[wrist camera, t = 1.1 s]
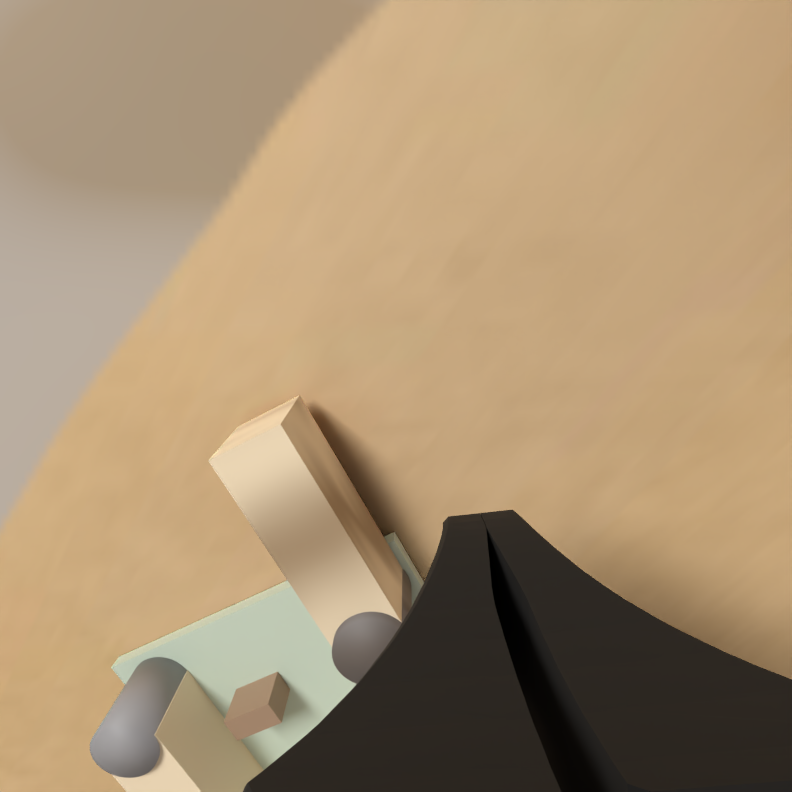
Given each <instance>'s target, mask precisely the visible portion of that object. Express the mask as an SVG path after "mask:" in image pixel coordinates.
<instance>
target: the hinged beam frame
mask: <svg viewBox="0 0 792 792" xmlns="http://www.w3.org/2000/svg"><path fill="white" fill-rule="evenodd" d="M384 538H385V540H386V542H387V543H388V545H389V547H390V548H391V550H392V552H393V553H394V555H395V557H396V559H397V560H398V562H399V564H400V565H401V567H402V569H403V570H404V571H405V572H406V573H407V575H408V576H409V579H410V581H411V588H412V605H413V603H414V601H415V599H416V597H417V595H418V593H419V591H420V589H421V588H422V586H423V584H424V581H423V580H422V578H421V576H420V575H419V573H418V571H417V569H416V568H415V566H414V564H413V563H412V561H411V559H410V557H409V556H408V554H407V552H406V551H405V549H404V547H403V545H402V544H401V542H400V540H399V539H398V537H397V535H396V534H395V532H393V533H391V534H389V535H386V536H384ZM111 668H112V669H113V670H114V672H115V673H116V674H117V675H118V677H119V678H120V679H121V680H122V682H123V683H124V684H125V686H124V688H123V689H122V691H121V693H120V694H119V696H118V697H117V699H116V701H115V702H114V704H113V705H112V707H111V709H110V710H109V712H108V713H107V715H106V717H105V718H104V720H103V721H102V723H101V725H100V726H99V728H98V729H97V731H96V733H95V734H94V736H93V738H92V740H91V742H90V752H91V755H92V758H93V759H94V761H95V762H96V764H97V765H98V766H99V767H101V768H102V769H103V770H105V771H106V772H108V773H110V774H112V775H113V776H114V778H115V779H116V780H117V781H118V782H119V783H120V785H121V786H122V787H123V788H124V789H125V790H126V792H243V790H244V788H245V786H246V784H247V783H248V782H249V781H250V780H252V779H253V778H254V777H256V776H257V775H258V774H259V773H261V772H262V771H263V770H264V769H266V768H267V767H268V766H269V765H271V764H272V763H273V762H274V761H275V760H277V759H278V758H279V757H280V756H281V755H283V754H284V753H285V752H286V751H287V750H289V749H290V748H291V747H292V746H294V745H295V744H296V743H297V742H298V741H300V740H301V739H302V738H303V737H304V736H306V735H307V734H308V733H309V732H310V731H311V730H312V729H313V728H314V727H316V726H317V725H318V724H319V723H320V722H321V721H322V720H323V719H324V718H325V717H326V716H327V715H328V714H329V713H330V712H331V711H332V709H333V708H334V707H335V706H336V705H337V704H338V703H339V702H340V701H341V700H342V699H343V698H344V697H345V696H346V695H347V694H348V693H349V692H350V691H351V690H352V689H353V688H354V686H355V685H356V683H354V682H351V681H350V680H348V679H346V678H345V677H344V676H343V675H342V674H341V673H340V672H339V671H338V670H337V668H336V667H335V665H334V662H333V659H332V647H331V645H330V644H329V642H328V641H327V639H326V638H325V636H324V635H323V633H322V632H321V630H320V629H319V627H318V626H317V624H316V623H315V621H314V620H313V618H312V617H311V615H310V614H309V612H308V611H307V609H306V608H305V606H304V605H303V603H302V602H301V600H300V599H299V597H298V595H297V594H296V592H295V591H294V589H293V588H292V586H291V585H290V583H289V582H288V580H287V581H285V582H283V583H281V584H278V585H276V586H274V587H272V588H270V589H267V590H265V591H263V592H261V593H258V594H256V595H254V596H252V597H250V598H247V599H245V600H243V601H241V602H239V603H236V604H234V605H232V606H230V607H228V608H225V609H223V610H221V611H219V612H217V613H214V614H212V615H210V616H208V617H206V618H203V619H201V620H199V621H197V622H194V623H192V624H190V625H188V626H186V627H183V628H181V629H179V630H177V631H175V632H172V633H170V634H168V635H166V636H164V637H161V638H159V639H157V640H155V641H153V642H150V643H148V644H146V645H144V646H141V647H139V648H137V649H135V650H133V651H130V652H128V653H126V654H124V655H122V656H119V657H118V659H117V660H116V662H115V663H114V665H113V666H112V667H111Z"/></svg>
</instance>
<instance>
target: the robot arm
mask: <svg viewBox="0 0 792 792" xmlns="http://www.w3.org/2000/svg"><path fill="white" fill-rule="evenodd" d="M243 792H792V680H791V679H789V678H786V677H784V676H781V675H779V674H776V673H774V672H771V671H768V670H766V669H763V668H761V667H758V666H756V665H753V664H751V663H749V662H746V661H744V660H742V659H739V658H737V657H735V656H732V655H730V654H728V653H725V652H723V651H721V650H719V649H717V648H715V647H713V646H711V645H709V644H707V643H704V642H702V641H700V640H698V639H696V638H694V637H692V636H690V635H688V634H686V633H684V632H682V631H680V630H678V629H676V628H674V627H672V626H670V625H668V624H666V623H664V622H663V621H661V620H659V619H657V618H655V617H654V616H652V615H650V614H649V613H647V612H645V611H644V610H642V609H640V608H638V607H637V606H635V605H633V604H632V603H630V602H628V601H626V600H625V599H623V598H622V597H620V596H619V595H617V594H615V593H614V592H612V591H611V590H609V589H608V588H606V587H605V586H604V585H602V584H601V583H599V582H598V581H597V580H595V579H594V578H592V577H591V576H590V575H588V574H587V573H585V572H584V571H583V570H581V569H580V568H579V567H577V566H576V565H575V564H574V563H573V562H571V561H570V560H569V559H568V558H566V557H565V556H564V555H563V554H562V553H560V552H559V551H558V550H557V549H556V548H554V547H553V546H552V545H551V544H550V543H549V542H547V541H546V540H545V539H544V538H543V537H542V536H541V535H540V534H539V533H537V532H536V531H535V530H534V529H533V528H532V527H531V526H530V525H529V524H528V523H527V522H526V521H525V520H524V519H523V518H521V517H520V516H519V515H518V514H517V513H516V512H515V511H513V510H506V511H497V512H488V513H481V514H480V513H478V514H469V515H460V516H451V517H448V518H447V519H446V520H445V521H444V522H443V531H442V536H441V540H440V543H439V546H438V549H437V553H436V555H435V558H434V560H433V563H432V565H431V568H430V570H429V573H428V575H427V577H426V580H425V582H424V584H423V586H422V588H421V589H420V591H419V593H418V595H417V597H416V599H415V601H414V603H413V605H412V607H411V609H410V611H409V612H408V614H407V616H406V617H405V619H404V621H403V622H402V624H401V625H400V627H399V629H398V630H397V632H396V633H395V635H394V636H393V638H392V639H391V640H390V642H389V643H388V645H387V646H386V648H385V649H384V650H383V652H382V653H381V654H380V655H379V657H378V658H377V659H376V661H375V662H374V663H373V665H372V666H371V667H370V668H369V670H368V671H367V672H366V674H365V675H364V676H363V677H362V678H361V679H360V681H359V682H358V683H357V684H356V685H355V686H354V688H353V689H352V690H351V691H350V692H349V693H348V694H347V695H346V696H345V697H344V698H343V699H342V700H341V701H340V702H339V703H338V704H337V705H336V706H335V707H334V708H333V709H332V711H331V712H330V713H329V714H328V715H327V716H326V717H325V718H324V719H323V720H322V721H321V722H320V723H319V724H318V725H317V726H316V727H314V728H313V729H312V730H311V731H310V732H309V733H308V734H307V735H306V736H304V737H303V738H302V739H301V740H300V741H298V742H297V743H296V744H295V745H294V746H292V747H291V748H290V749H289V750H287V751H286V752H285V753H284V754H283V755H281V756H280V757H279V758H278V759H277V760H275V761H274V762H273V763H272V764H271V765H269V766H268V767H267V768H266V769H264V770H263V771H262V772H261V773H259V774H258V775H257V776H256V777H254V778H253V779H252V780H250V781H249V782H248V783H247V784H246V786H245V788H244V790H243Z"/></svg>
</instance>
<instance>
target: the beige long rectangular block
mask: <svg viewBox="0 0 792 792" xmlns="http://www.w3.org/2000/svg"><path fill="white" fill-rule="evenodd" d="M208 461H209V463H210V464H211V466H212V467H213V469H214V470H215V472H216V473H217V475H218V476H219V478H220V479H221V481H222V482H223V484H224V485H225V487H226V488H227V490H228V491H229V493H230V494H231V496H232V497H233V499H234V500H235V502H236V503H237V505H238V506H239V508H240V509H241V511H242V512H243V514H244V515H245V517H246V518H247V520H248V521H249V523H250V524H251V526H252V528H253V529H254V531H255V532H256V534H257V535H258V537H259V538H260V540H261V541H262V543H263V544H264V546H265V547H266V549H267V550H268V552H269V553H270V555H271V556H272V558H273V559H274V561H275V562H276V564H277V565H278V567H279V568H280V570H281V571H282V573H283V574H284V576H285V577H286V579H287V580H288V582H289V583H290V585H291V586H292V588H293V589H294V591H295V592H296V594H297V595H298V597H299V599H300V600H301V602H302V603H303V605H304V606H305V608H306V609H307V611H308V612H309V614H310V615H311V617H312V618H313V620H314V621H315V623H316V624H317V626H318V627H319V629H320V630H321V632H322V633H323V635H324V636H325V638H326V639H327V641H328V642H329V644H330V645H331V647H332V659H333V662H334V665H335V667H336V668H337V670H338V671H339V672H340V673H341V674H342V675H343V676H344V677H345V678H346V679H348V680H350V681H351V682H354V683H356V684H357V683H358V682H359V681H360V679H361V678H362V677H363V676H364V675H365V674H366V672H367V671H368V670H369V668H370V667H371V666H372V665H373V663H374V662H375V661H376V659H377V658H378V657H379V655H380V654H381V653H382V652H383V650H384V649H385V648H386V646H387V645H388V643H389V642H390V640H391V639H392V638H393V636H394V635H395V633H396V632H397V630H398V629H399V627H400V625H401V624H402V622H403V621H404V619H405V617H406V616H407V614H408V612H409V611H410V609H411V607H412V588H411V581H410V579H409V576H408V575H407V573H406V572H405V571H404V570H403V569H402V567H401V565H400V564H399V562H398V560H397V559H396V557H395V555H394V553H393V552H392V550H391V548H390V547H389V545H388V543H387V542H386V540H385V538H384V537H383V535H382V533H381V531H380V530H379V528H378V526H377V525H376V523H375V521H374V520H373V518H372V516H371V515H370V513H369V511H368V509H367V508H366V506H365V504H364V503H363V501H362V499H361V498H360V496H359V494H358V493H357V491H356V489H355V487H354V486H353V484H352V482H351V481H350V479H349V477H348V476H347V474H346V472H345V471H344V469H343V467H342V466H341V464H340V462H339V460H338V459H337V457H336V455H335V454H334V452H333V450H332V449H331V447H330V445H329V444H328V442H327V440H326V438H325V437H324V435H323V433H322V432H321V430H320V428H319V427H318V425H317V423H316V422H315V420H314V418H313V416H312V415H311V413H310V411H309V410H308V408H307V406H306V405H305V403H304V401H303V400H302V398H301V396H300V395H299V396H297V397H295V398H293V399H291V400H289V401H287V402H285V403H283V404H281V405H279V406H277V407H275V408H273V409H271V410H269V411H267V412H265V413H263V414H261V415H260V416H258V417H256V418H254V419H252V420H250V421H248V422H246V423H244V424H242V425H240V426H238V427H237V428H236V429H235V431H234V432H233V433H232V434H231V435H230V436H229V437H228V439H227V440H226V441H225V442H224V443H223V444H222V445H221V446H220V448H219V449H218V450H217V451H216V452H215V453H214V454H213V456H212V457H211V458H210V459H209V460H208Z"/></svg>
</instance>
